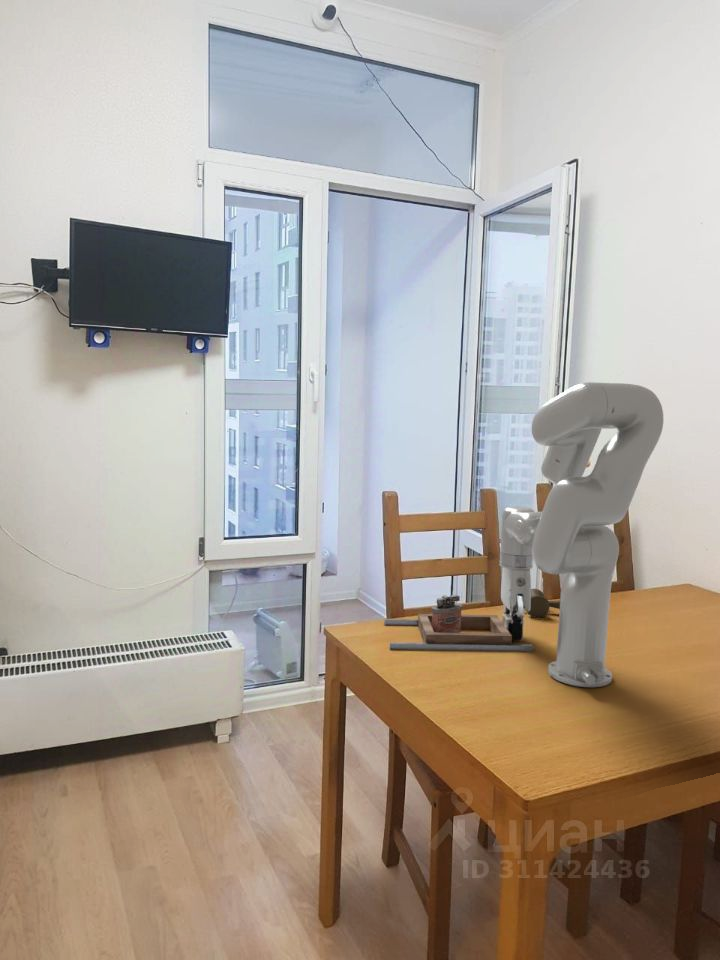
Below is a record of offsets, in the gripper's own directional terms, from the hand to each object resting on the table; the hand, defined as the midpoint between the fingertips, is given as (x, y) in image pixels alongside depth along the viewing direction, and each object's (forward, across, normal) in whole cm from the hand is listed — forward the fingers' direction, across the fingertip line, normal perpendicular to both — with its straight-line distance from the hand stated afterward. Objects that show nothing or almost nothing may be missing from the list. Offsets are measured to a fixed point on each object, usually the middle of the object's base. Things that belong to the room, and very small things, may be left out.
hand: (511, 635), depth 169 cm
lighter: (+1, 0, +16) cm, 16 cm away
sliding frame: (+1, 0, +10) cm, 10 cm away
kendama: (+1, +21, -15) cm, 26 cm away
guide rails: (+1, 0, +14) cm, 14 cm away
